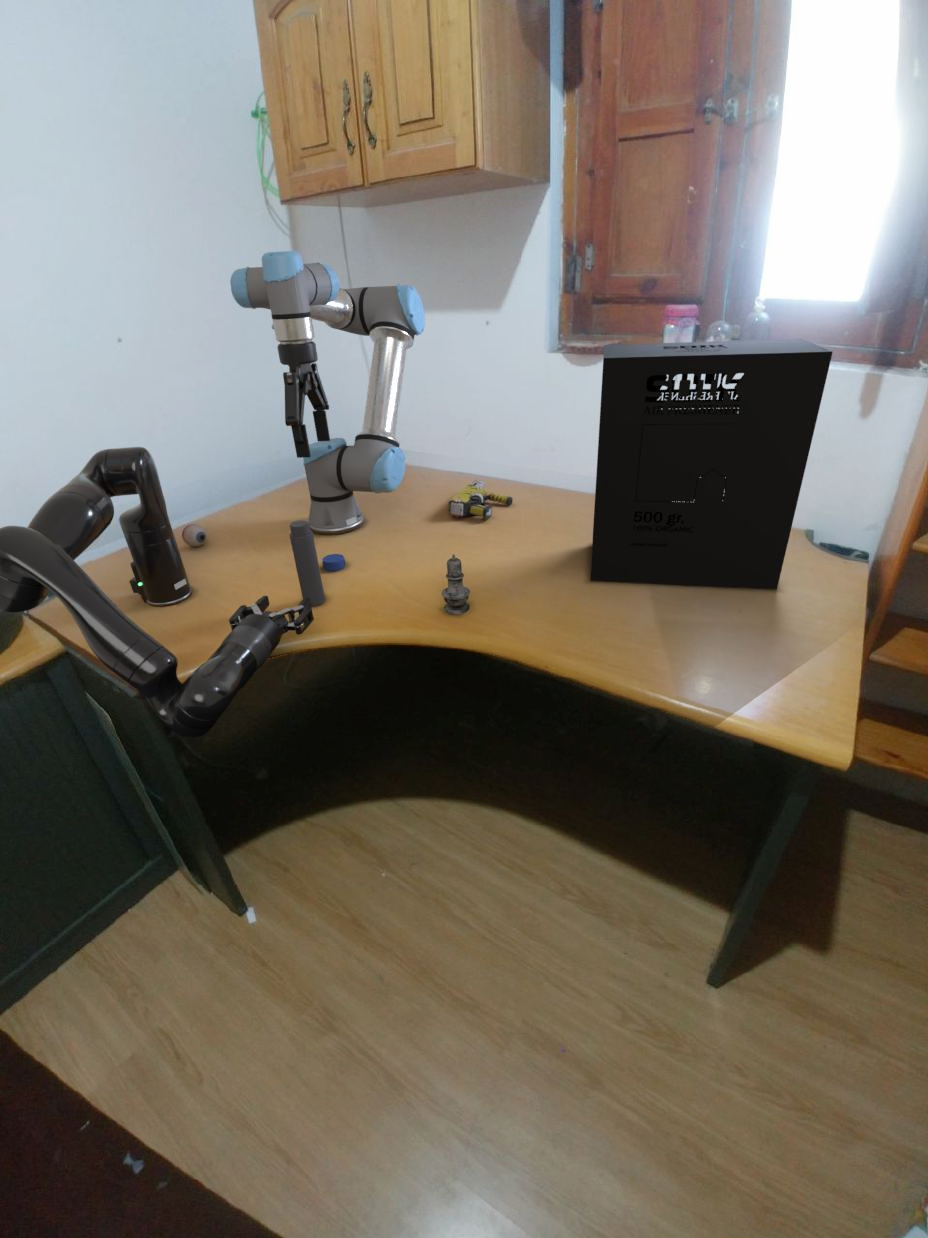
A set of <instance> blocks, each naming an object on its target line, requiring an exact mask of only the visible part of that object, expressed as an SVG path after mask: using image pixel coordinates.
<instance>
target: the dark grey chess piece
mask: <svg viewBox="0 0 928 1238" xmlns="http://www.w3.org/2000/svg"><path fill="white" fill-rule="evenodd" d="M462 567H463V566H462V561H461V559H460V558H458V557H456V555H455V554H454V553H452V555H451V557H450V558H449V559H448V560H447V561H446V569H447V570H446V574H445V578H446V579H447V587H446V588H444V589H443V590H442V591H441V596H442V598H443V600H444V602H445V603H446V604H445V605H444V607H443V608H444V611H445V612H446V613H448V614H452V615H461V614H464V613H466V612H468V611H469V610H470V608H471V606H470V604H469V603H468V600H469V598H470V595H471V590H470V589H469V588H468V587H466V586H464V579H463V578H464V577H465V574H464V573H463V568H462Z"/></svg>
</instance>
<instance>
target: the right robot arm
mask: <svg viewBox="0 0 928 1238" xmlns="http://www.w3.org/2000/svg"><path fill="white" fill-rule="evenodd" d="M229 281H230V282H229V283H230V291H231V293H232V295H231V296H232V297H233V299H234V301H235V302H236V303H237V304H238V305H239V306H240V307H242V308H244V309H252V310H256V309H266V310H270V313H271V314H270V315H271V319H272V324H271V329H272V330H274V336H275V340H276V341H277V342H279V343H278V344H277V347H276V348H277V353H278V357H279V362H280V364H281V365H284V366H288V369H289V370H288V371H285V372H284V371H283V373H282V377H283V383H284V384H283V385H284V422H285V426H286V427H291V433H292V438H293V442H294V449H295V453H296V458H297V459H298V458H299V459H300V458H302V460H303V467H304V471H305V477H306V481H307V486H308V492H309V498H310V507H309V513H308V520H307V521H308V523H309V529H310V530H311V531H312V532H313V534H317V535H323V536H324V535H325V536H327V535H329V536H331V535H339V534H340V535H341V534H345V533H350V532H353V531H355V530H357V529H359V528H361V527H362V526H363V525H364V523H365V519H364V514H363V512H362V510H361V508H360V505H359V504H358V501H357V500H356V498H355V495H354V492H360V493H361V492H362V493H374V494H381V493H383V494H384V493H385V494H387V493H392V492H395V491H396V490H397V489H398V488H399V487H400V485H401V484H402V481H403V479H404V475H405V473H406V456H405V455H406V454H405V452H404V451H403V449H401V448H400V442H399V441H398V439H397V438H396V431H397V424H398V416H399V409H400V401H401V394H402V387H403V379H404V372H405V365H406V358H407V351H408V350H410V349H411V348H412V347H413V346H414V342H415V336H419V335H422V334H423V332H424V330H425V324H426V323H425V321H426V319H425V310H424V306H423V302H422V299H421V296H420V294H419V292H418V291H417V290H418V289H416V287H414V286H412V285H407V284H405V285H404V284H403V285H401V284H396V285H383V286H362V287H354V288H353V287H352V288H342V287H341V288H340V279H339V277H338V274H337V272H335V270H334V268H332V267H331V266H329V264H325V263H321V262H312V263H304V261H303V258H302V255H301V254H300V253H299V251H295V250H286V251H285V250H284V251H282V250H281V251H269V252H265V253H263V255H262V256H261V266H256V267H250V266H246V267H243V268H237V269H235V270H234V271H233V272H232V274H231V276H230V280H229ZM313 320H315V321H318V322H324V324H326V326H328V327H329V328H331V329H334V330H339V331H342V332H346V333H349V334H354V335H358V336H364V337H365V336H366V337H369V338H370V340H371V341H372V342H373V348H372V349H373V350H372V356H371V362H370V363H371V364H370V370H369V378H368V385H367V392H366V400H365V407H364V413H363V414H364V415H363V422H362V429H361V431H360V432H359V433H357V434H356V435H355V437H354V443H353V445H347V441H346V439H345V438H342V437H334V438H331V436H330V431H329V424H328V423H329V422H328V417H327V412H326V411H328V410H330V405H329V401H328V398H327V395H326V392H325V389H324V386H323V383H322V380H321V377H320V374H319V370H318V364H317V363H316V362H317V361H318V360H319V358H318V352H317V346H316V345H317V344H316V342H315V341H313V339H314V338H315V336H316V335H315V331H314V325H313ZM306 397H307V398H308V401H309V402H310V405H311V406H312V408H313V409H314V410H312V416H313V422H314V427H315V434H316V440H317V441H315V442H313V443H309V438H308V432H307V426H306V424H305V423H304V414H305V404H306V403H305V401H306Z"/></svg>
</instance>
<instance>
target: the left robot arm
mask: <svg viewBox="0 0 928 1238" xmlns="http://www.w3.org/2000/svg"><path fill="white" fill-rule="evenodd" d="M134 495H135V496H136V495H138V497H139V503H138V505H135V506H133V507H131V508H128V509H127V510H125V511H123V512H122V513H121V514H120V515H119V516H118V522H119V525H120V528H121V531H122V534H123V536H124V539H125V542H126V544H127V547H128V550H129V553H130V556H131V558H132V561H130V568H131V572H132V574H133V576H134V577H132V578H130V580H128V582H129V584H130V587H131V590H132V593H133V594H138V595H140V596H141V598H142V601H143V603H147V604H148V605H149V606H153V607H166V606H171V605H172V606H173V605H176V604H178V603H181V602H183V601H185V600H187V599H188V598H189V597H191V595H192V594H193V590H192V587H191V584H190V581H189V578H188V575H187V572H186V568H185V565H184V563H183V559H182V556H181V552H180V549H179V547H178V543H177V540H176V536H175V533H174V531H173V527H172V524H171V521H170V518H169V517H170V516H169V514H168V509H167V503H166V500H165V496H164V492H163V489H162V484H161V481H160V477H159V472H158V469H157V465H156V461H155V459H154V457H153V456H152V454H151V453H150V451H149V450H148V449H147V448H145V447H144V446H128V447H115V448H105V449H102V450H101V449H100V450H99V451H97V452H96V453H94V454H93V455H92V456H91V458H89V460H88V461H87V462H86V464H85V465H84V466H83V468H82V469H81V470H80V471H79V473H78V474H77V475H75V476H74V477H72V478H71V480H70V481H69V482H67V483H66V484H65V485H64V486H62V487H61V488H59V489H58V490H57V491H55V493H53V494H52V495H51V496H50V497H49V498H48V499H46V501H44V503H43V504H42V505H41V506H40V508H39V509H38V510H37V512H36V513H35V515H34V516H33V518H32V519H31V520H30V522H29V523H28V525H27V526H22V525H5V526H1V527H0V612H3V613H23V612H27V611H30V610H33V609H35V608H36V607H38V606H40V605H41V604H42V603H43V602H44V601H46V599H47V597H49V595H50V592H51V593H52V594H53V595H54V596H55V597H56V598H57V599H58V600H59V601H60V602H61V603H62V604H63V606H64V607H65V608H66V609H67V611H68V612H69V613H70V615H71V617H72V618H73V620H74V622H75V623H76V625H77V626H78V628H79V630H80V632H81V634H82V636H83V637H84V639H85V641H86V643H87V645H88V646H89V648H90V649H91V651H92V652H93V654H94V655H95V656H96V658H97V659H98V660H99V661H100V662H101V663H102V664H103V665H104V666H105V667H107V669H108V670H110V671H112V673H114V674H115V675H116V676H118V677H119V678H120V679H122V680H123V681H125V682H126V683H127V684H129V685H130V686H131V687H132V688H134V689H135V690H137V691H138V693H139V694H140V695H141V697H142V698H143V700H144V701H145V703H146V704H147V705H148V706H149V708H150V709H151V710H152V711H153V713H154V714H155V715H156V716H157V718H158V719H159V720H160V721H161V722H162V723H163V725H165V727H166V728H168V729H169V730H171V731H172V732H174V733H176V734H177V735H180V736H182V737H185V738H200V737H203V736H205V735H206V734H207V733H209V732H210V731H211V730H212V728H213V727H214V726H215V725H216V723H217V721H219V719H220V718H221V716H222V715H223V713H224V712H225V711H226V709H228V707H229V705H231V702H232V701H233V700H234V698H235V697H236V695H237V694H238V693H239V691H240V690H242V689H243V687H245V685H246V684H247V683H248V682H249V680H251V678H252V677H253V675H254V674H255V673H256V672H257V671H258V670H259V669H260V668H262V666H263V665H264V664H265V662H266V661H267V660H268V658H270V656H271V655H272V653H273V652H274V651H275V650H276V648H277V647H278V646H279V644H280V642H281V640H282V637H283V635H284V634H285V633H288V632H289V631H293V632H295V634H296V635H298V636H299V635H302V634H303V633H304V632H305V631H306V630H307V629H308V628H309V626H311V625H312V623H313V622H314V621H315V617H314V614H313V607H312V604H311V599H309V597H304V598H303V597H302V600H300V602H299V603H298V604H297V606H294V607H292V608H291V607H286V608H284V609H282V610H279V611H278V610H277V611H272V610H267V609H268V608H269V606H270V600H269V595H262V596H261V597H260V598H258V599H257V600H256V601H255V602H254V603H251V604H250V605H249V606H247V605H246V604H242V605H240V606H239V607H238V608H237V609H236V610H235V612H234V613H232V615H231V616H230V617H229V618H228V622H229V625H230V629H231V631H230V632H229V634H228V635H226V637H224V639H223V641H222V642H221V644H220V645H219V646H218V648H217V649H216V650H215V651H214V652H213V653H212V654H211V655H210V656H209V657H208V659H207V660H206V661H205V662H203V663H202V664H201V665H199V666H198V667H197V668H196V669H195V670H194V671H193V672H192V673H190V675H189V676H188V677H187V678H186V679H185V680H184V682H182V681H181V679H179V677H178V666H179V661H178V657H177V656H176V655H175V654H174V653H173V652H171V650H169V649H168V648H167V647H165V646H164V645H163V644H162V643H160V642H159V641H158V640H156V639H155V638H154V637H153V636H151V635H150V634H149V633H148V632H146V631H145V630H144V629H142V628H141V627H140V626H139V625H137V624H136V623H135V622H134V621H133V620H132V619H130V617H128V616H127V615H126V614H125V613H124V612H123V611H122V610H121V609H120V608H119V607H118V606H117V605H116V604H115V603H114V602H113V601H112V600H111V599H110V598H109V597H108V595H107V594H106V593H105V591H103V590H102V589H101V588H100V587H99V586H98V584H97V583H96V582H95V581H94V580H93V579H92V578H91V577H90V576H89V575H88V574H87V573H86V571H84V569H82V567H81V566H80V565H79V564H78V563H77V562H76V561H75V560H76V559H77V558H78V557H79V556H81V555H82V554H83V553H84V552H85V551H86V550H87V549H88V548H89V547H90V546H91V545H93V543H94V542H95V541H96V540H97V539H98V538H99V537H100V536H102V535H103V533H104V532H105V530H107V528H109V526H110V525H111V524H112V521H113V519H114V515H115V507H114V503H113V501H112V498H114V497H121V496H134ZM296 613H298V615H297V616H296ZM286 615H287V617H288V619H287V617H286Z"/></svg>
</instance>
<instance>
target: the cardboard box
mask: <svg viewBox="0 0 928 1238" xmlns="http://www.w3.org/2000/svg"><path fill="white" fill-rule="evenodd" d="M833 353H834V352H833V350H830V349H827V348H826V347H825V348H824V347H822V346H821V345H818V344H815V343H813V342H810V341H808V340H805V339H802V338H783V339H782V338H781V339H779V338H777V339H776V338H775V339H749V340H747V339H746V340H723V341H722V340H720V341H719V340H718V341H689V342H687V341H685V342H683V341H682V342H657V343H654V342H653V343H627V344H625V343H624V344H623V343H621V344H604V345H603V359H602V362H603V363H602V375H601V389H600V390H601V392H600V409H599V424H598V425H599V426H598V427H599V428H598V442H597V457H596V458H597V459H596V460H597V461H596V475H595V493H594V496H595V497H594V508H593V509H594V510H593V525H592V527H593V528H592V541H591V557H590V558H591V560H590V575H589V576H590V577H589V580H590V582H603V583H622V584H623V583H625V584H626V583H628V584H645V585H647V584H648V585H669V586H670V585H671V586H693V587H712V588H714V587H715V588H734V589H735V588H737V589H755V590H757V589H758V590H759V589H760V590H778V586H779V582H780V577H781V574H782V570H783V565H784V561H785V556H786V553H787V548H788V543H789V539H790V536H791V531H792V526H793V522H794V519H795V513H796V510H797V505H798V501H799V497H800V493H801V489H802V484H803V480H804V476H805V471H806V467H807V464H808V463H807V462H808V458H809V455H810V450H811V446H812V442H813V437H814V434H815V430H816V425H817V421H818V417H819V411H820V407H821V404H822V400H823V399H822V398H823V394H824V390H825V386H826V381H827V378H828V374H829V369H830V366H831V360H832V356H833ZM738 374H742V376H741V377H740V378H735V376H736V375H738ZM678 375H681V379H680V380H679V384H678V388H675V385H676V379H675V377H676V376H678ZM689 375H693V380H692V381H691V379H688V376H689ZM702 375H704V379H702ZM719 378H720V382H719ZM724 378H725V382H724ZM723 382H724V385H730V384H731V385H734V388H725V387H724V386H723ZM691 383H692V385H695V388H691ZM705 385H710V388H704V386H705ZM662 387H666V389H662Z"/></svg>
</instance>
